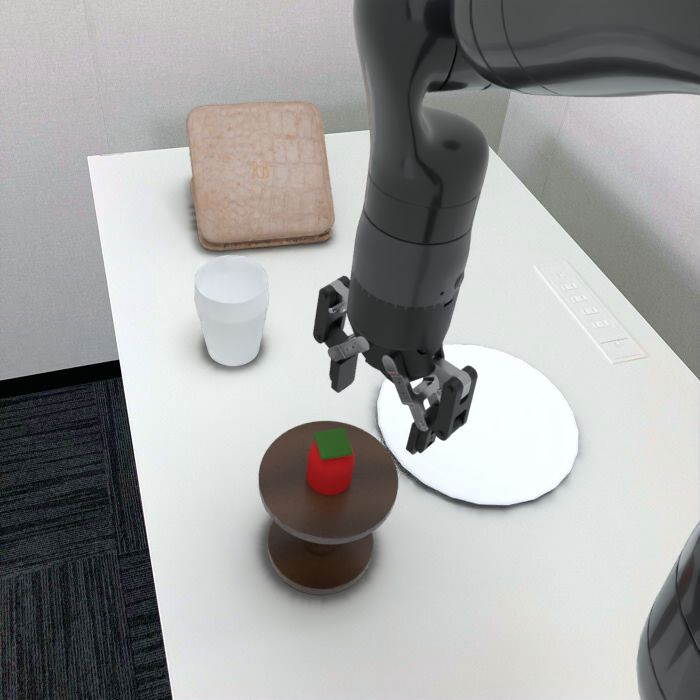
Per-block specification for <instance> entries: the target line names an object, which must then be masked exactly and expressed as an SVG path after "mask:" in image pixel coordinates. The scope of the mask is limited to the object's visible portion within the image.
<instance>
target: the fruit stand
mask: <svg viewBox="0 0 700 700" xmlns="http://www.w3.org/2000/svg"><path fill="white" fill-rule="evenodd" d="M339 428H345V431H346V434H347V437H348V440H349V443H350V445H351V447H352V449H353V451H354V456H355V460H354V467H353V473H352V479H351V483H350V485H349V486H348V488H347V489H346V490H344V491H343V492H341V493H339V494H336V495H324V494H321V493H319V492H317V491H315V490H314V489H313V488H312V487H311V486H310V485H309V483H308V481H307V476H306V474H307V463H308V454H309V450H310V448H311V446H312V445H313V443H314V442H315V441H316V440H315V437H314V433H315V432H321V431H327V430H333V429H339ZM388 450H389V449H388V448H386V446H384V444H383V443H382V442H381V441H380V440H379V439H378V438H376V437H375V436H374V435H373V434H371V433H370V432H368V431H366V430H364V429H362V428H360V427H358V426H356V425H354V424H350V423H347V422H343V421H336V420H315V421H310V422H305V423H302V424H299V425H296V426H294V427H291V428H290V429H288V430H286V431H284V432H283V433H281V434H280V435H278V436H277V437H276V438H275V439H274V440H273V441H272V442H271V444H269V446H268V447H267V449H266V450H265V452H264V454H263V456H262V459H261V461H260V464H259V469H258V493H259V497H260V500H261V503H262V504H263V507H264V509H265V511H266V512H267V514H268V515H269V517H270V518H271V519H272V522H271V524H270V526H269V530H268V534H267V553H268V559H269V562H270V564H271V566H272V568H273V570H274V571H275V573H276V574H277V576H278V577H279V578H280V579H281V580H282V581H283V582H285V583H286V584H287V585H288V586H290V587H292V588H293V589H295V590H297V591H299V592H302V593H305V594H309V595H317V596H318V595H319V596H327V595H333V594H336V593H339V592H342V591H344V590H347V589H349V588H350V587H353V585H355V584H356V583H357V582H358V581H359V580H360V579H361V578H362V577H363V576H364V574H365V573H366V571H367V569H368V568H369V566H370V563H371V560H372V556H373V549H374V537H373V533H374V531H376V530H377V529H379V528H380V527H381V526H382V525H383V524H384V523H385V522H386V520H387V519H388V517H389V516H390V514H391V512H392V511H393V509H394V507H395V503H396V500H397V496H398V491H399V475H398V474H399V473H398V470H397V469H398V468H397V466H396V463H395V461H394V459H393V457H392V455H391V452H390V451H388Z"/></svg>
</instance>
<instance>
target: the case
mask: <svg viewBox="0 0 700 700" xmlns="http://www.w3.org/2000/svg"><path fill="white" fill-rule="evenodd" d="M323 120H324V119H323V115H322V112H321V111H320V109H319V107H318V106H317V105H316V104H314V103H313V102H310V101H307V100H305V101H303V100H296V101H295V100H294V101H293V100H292V101H251V102H250V101H249V102H237V103H223V104H203V105H198V106H196V107H193V108H192V109H190V111H189V112H188V113H187V115H186V120H185V124H186V125H185V127H186V134H187V141H188V142H187V143H188V150H189V151H188V153H189V160H190V167H191V175H192V177H191V178H190V180H189V186H190V191H191V195H192V201H193V205H194V206H193V207H194V212H195V219H196V226H197V227H196V228H197V233H198V239H199V243H200V244H201V246H202V247H203V248H204V249H206V250H209V251H213V252H220V251H232V250H243V249H254V248H265V247H274V246H286V245H287V246H288V245H296V244H310V243H311V244H312V243H320V242H325V241H327V240H329V238H330V237H331V236H332V234H333V229H332V228H333V227H334V225H335V220H336V215H335V207H334V199H333V193H332V186H331V178H330V169H329V161H328V160H329V159H328V153H327V144H326V137H325V129H324V121H323Z"/></svg>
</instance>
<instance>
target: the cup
mask: <svg viewBox="0 0 700 700" xmlns="http://www.w3.org/2000/svg"><path fill="white" fill-rule="evenodd" d="M193 277H194V278H193V281H194V282H193V283H194V295H193V299H194V305H195V309H196V313H197V316H198V319H199V324H200V327H201V330H202V334H203V338H204V342H205V345H206V348H207V352H208V355H209V356H210V357H211V359H212V360H213V361H214V362H216V363H218V364H220V365H223V366H226V367H240V366H243V365H246V364H249V363H250V362H252V361H253V360H254V359H256V357H257V356H258V354H259V352H260V347H261V343H262V338H263V332H264V329H265V323H266V318H267V313H268V309H269V304H270V288H269V275H268V272H267V270H266V269H265V267H264V266H263V265H261V264H260V263H259V262H258V261H256V260H255V259H252V258H250V257H247V256H242V255H236V254H234V255H232V254H228V255H220V256H216V257H213V258H210V259H208V260H207V261H205V262H204V263H202V264H201V265H200V266H199V267H198V268H197V269H196V271H195V274H194V276H193Z"/></svg>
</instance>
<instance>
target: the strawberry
mask: <svg viewBox="0 0 700 700" xmlns="http://www.w3.org/2000/svg"><path fill="white" fill-rule="evenodd" d="M314 437H315V440H316V441H315V442H314V443H313V445H312V446H311V448H310V450H309V454H308V463H307V474H306V476H307V481H308V483H309V485H310V486H311V487H312V488H313V489H314V490H315V491H317V492H319V493H321V494H324V495H336V494H339V493H341V492H343V491H344V490H346V489H347V488H348V486H349V485H350V483H351V479H352V473H353V467H354V460H355V456H354V451H353V449H352V447H351V445H350V443H349V440H348V437H347V434H346V431H345V428H339V429H333V430H327V431H321V432H315V433H314Z"/></svg>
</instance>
